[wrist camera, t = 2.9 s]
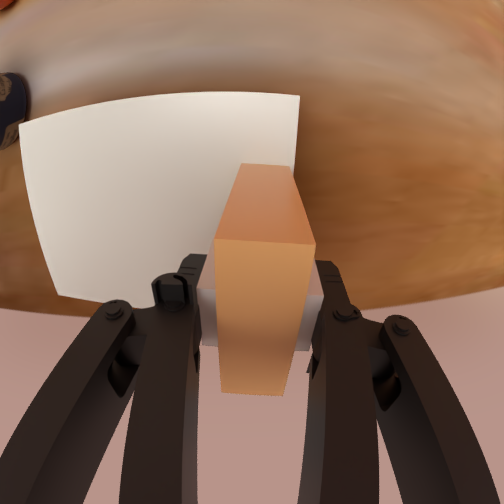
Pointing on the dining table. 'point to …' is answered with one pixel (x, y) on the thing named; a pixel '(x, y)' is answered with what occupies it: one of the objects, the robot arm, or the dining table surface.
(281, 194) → the lid
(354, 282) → the dining table surface
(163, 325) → the robot arm
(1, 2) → the tomato
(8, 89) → the canister
